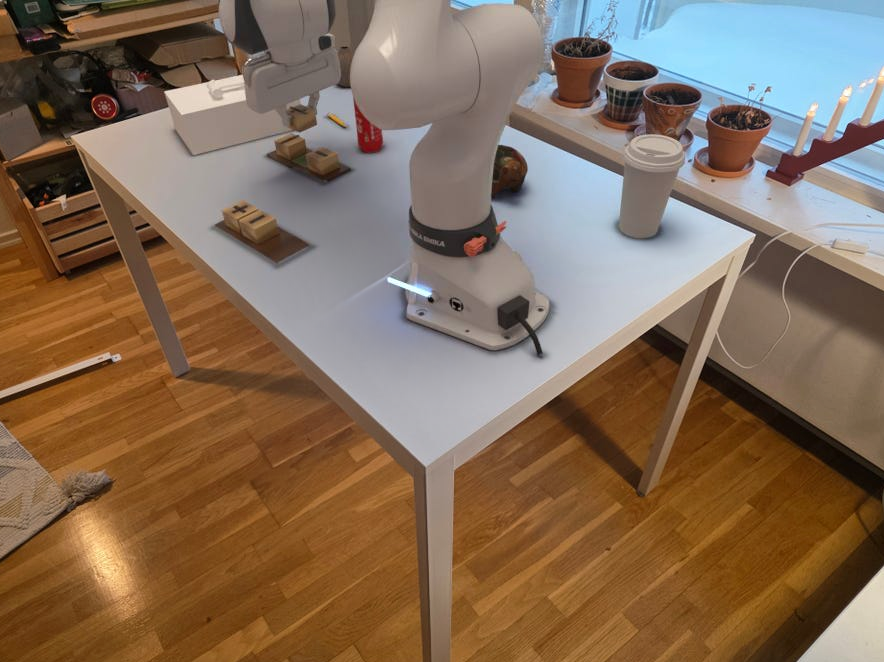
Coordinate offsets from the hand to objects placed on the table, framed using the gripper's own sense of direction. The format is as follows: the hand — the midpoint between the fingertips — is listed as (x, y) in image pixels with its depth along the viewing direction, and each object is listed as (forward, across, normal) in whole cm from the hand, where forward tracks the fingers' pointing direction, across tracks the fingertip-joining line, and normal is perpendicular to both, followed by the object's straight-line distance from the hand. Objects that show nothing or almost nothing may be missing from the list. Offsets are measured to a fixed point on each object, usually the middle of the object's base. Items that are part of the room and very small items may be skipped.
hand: (300, 120), depth 126 cm
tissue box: (+9, +1, +25) cm, 26 cm away
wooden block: (+1, 0, 0) cm, 1 cm away
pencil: (+9, +17, +10) cm, 22 cm away
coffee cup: (+9, +21, -63) cm, 67 cm away
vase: (+9, +34, +25) cm, 43 cm away
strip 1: (+9, -23, -15) cm, 29 cm away
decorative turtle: (+9, +17, -36) cm, 41 cm away
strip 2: (+9, 0, 0) cm, 9 cm away
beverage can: (+9, +13, -5) cm, 17 cm away
